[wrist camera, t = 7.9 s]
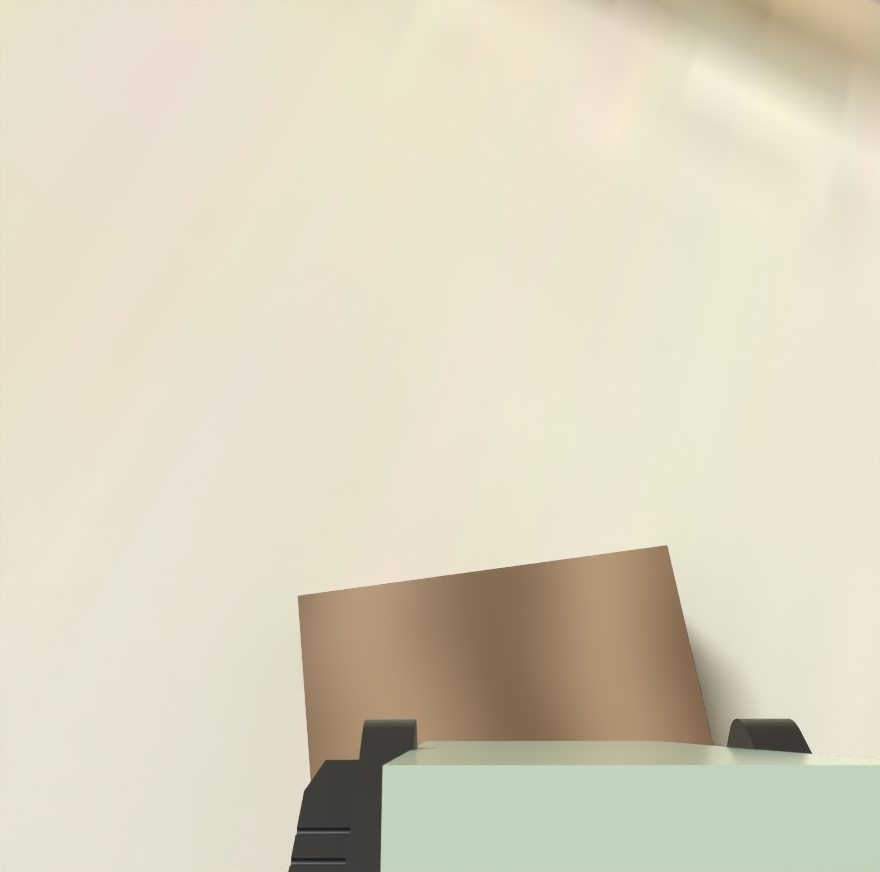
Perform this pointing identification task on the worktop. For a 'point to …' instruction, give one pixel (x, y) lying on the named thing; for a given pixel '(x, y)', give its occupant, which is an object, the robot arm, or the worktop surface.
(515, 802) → the sage green pillar
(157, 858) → the worktop surface
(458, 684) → the riser
